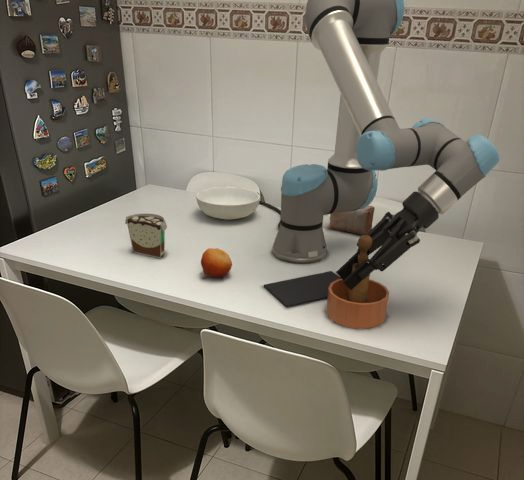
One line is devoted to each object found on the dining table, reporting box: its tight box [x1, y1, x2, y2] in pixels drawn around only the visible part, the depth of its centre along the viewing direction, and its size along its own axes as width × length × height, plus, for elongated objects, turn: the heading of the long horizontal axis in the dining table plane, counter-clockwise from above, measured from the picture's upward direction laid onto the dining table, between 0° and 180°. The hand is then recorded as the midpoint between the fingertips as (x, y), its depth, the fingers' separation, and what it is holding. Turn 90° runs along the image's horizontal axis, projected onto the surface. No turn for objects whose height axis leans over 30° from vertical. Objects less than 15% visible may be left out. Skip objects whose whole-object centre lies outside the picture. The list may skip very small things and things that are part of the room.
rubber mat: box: [263, 270, 342, 309], centre depth 128 cm, size 12×20×1 cm, turn 117°
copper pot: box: [325, 278, 390, 330], centre depth 117 cm, size 13×13×6 cm
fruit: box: [200, 247, 233, 279], centre depth 132 cm, size 8×8×8 cm
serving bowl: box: [195, 186, 261, 221], centre depth 171 cm, size 21×21×7 cm
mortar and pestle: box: [344, 235, 372, 303], centre depth 113 cm, size 7×6×18 cm
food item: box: [328, 204, 375, 236], centre depth 161 cm, size 14×8×10 cm, turn 59°
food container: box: [124, 212, 168, 259], centre depth 143 cm, size 12×6×10 cm, turn 65°
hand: (343, 280), depth 113 cm, fingers closed on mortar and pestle, 4 cm apart
